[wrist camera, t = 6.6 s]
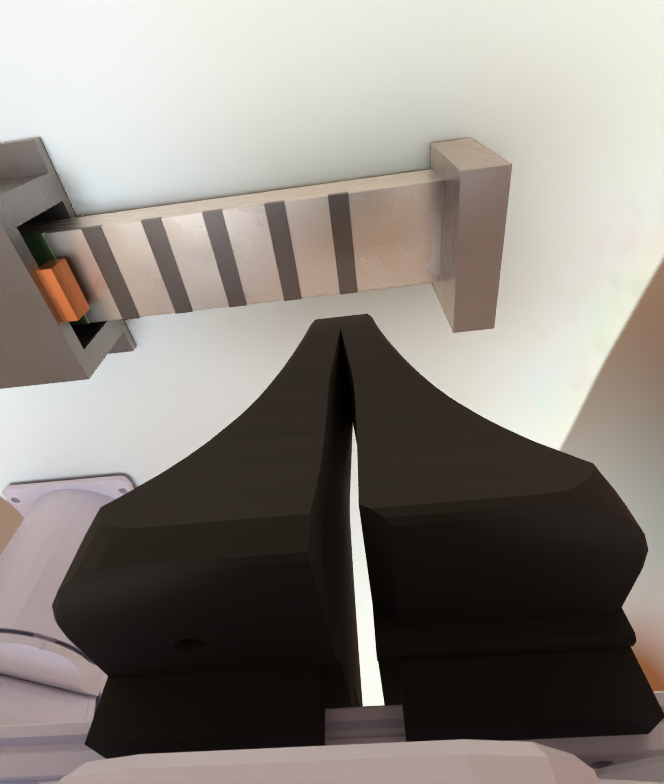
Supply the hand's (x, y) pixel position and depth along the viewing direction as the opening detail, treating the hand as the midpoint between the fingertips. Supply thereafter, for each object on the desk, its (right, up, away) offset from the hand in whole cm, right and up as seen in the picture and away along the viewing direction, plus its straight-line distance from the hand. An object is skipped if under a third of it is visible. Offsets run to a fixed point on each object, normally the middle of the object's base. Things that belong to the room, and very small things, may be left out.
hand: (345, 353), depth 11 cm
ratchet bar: (-5, +5, +8) cm, 10 cm away
